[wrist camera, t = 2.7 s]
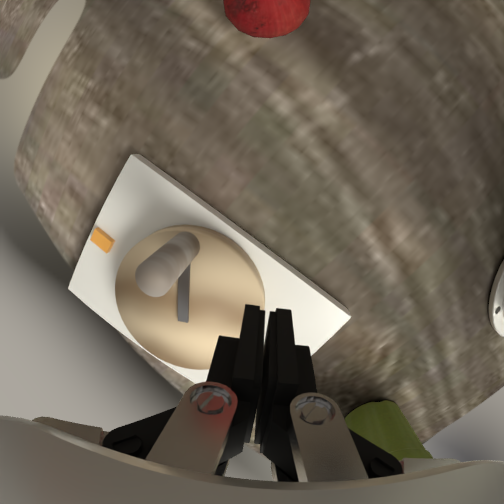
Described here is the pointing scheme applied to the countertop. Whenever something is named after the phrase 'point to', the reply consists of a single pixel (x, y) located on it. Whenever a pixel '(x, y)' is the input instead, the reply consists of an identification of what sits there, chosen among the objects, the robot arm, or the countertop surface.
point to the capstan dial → (186, 293)
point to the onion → (266, 16)
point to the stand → (200, 214)
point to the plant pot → (387, 429)
